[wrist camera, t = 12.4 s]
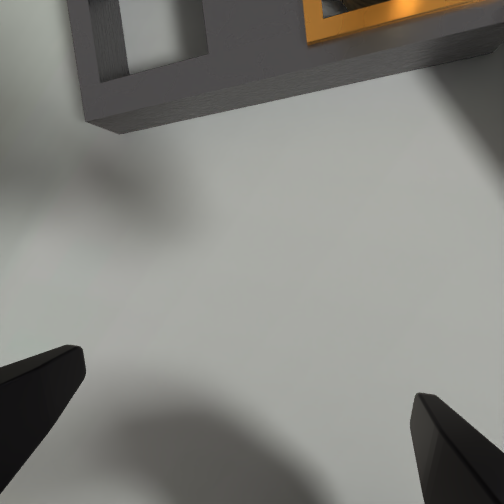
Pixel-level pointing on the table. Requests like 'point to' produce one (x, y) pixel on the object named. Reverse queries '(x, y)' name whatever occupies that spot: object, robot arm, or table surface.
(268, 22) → the grey peg board
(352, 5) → the brass pin
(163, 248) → the table surface
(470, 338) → the table surface
